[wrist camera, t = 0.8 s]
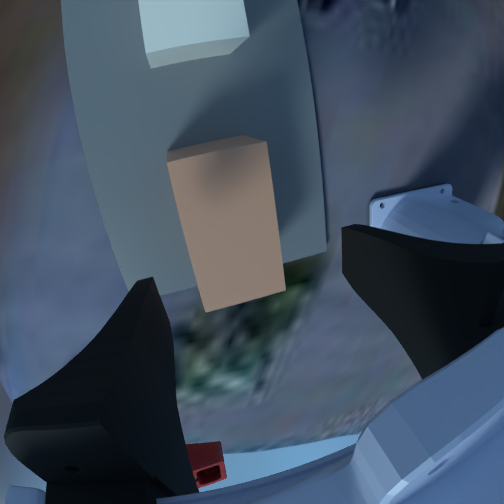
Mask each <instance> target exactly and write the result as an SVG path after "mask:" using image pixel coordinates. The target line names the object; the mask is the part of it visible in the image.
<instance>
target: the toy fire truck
mask: <svg viewBox="0 0 504 504" xmlns="http://www.w3.org/2000/svg"><path fill="white" fill-rule="evenodd" d="M186 448H187V452H188V456H189V460H190V463H191V467H192V471H193V474H194V477H195V480H196V484H197V487H198V488H200V487H203V486H207V485H210V484H213V483H215V482H218V481H220V480H223V479H226V477H227V475H226V470H225V465H224V458H223V453H222V447H221V442H220V441H217V442H209V443H207V442H206V443H199V444H198V443H196V444H186Z"/></svg>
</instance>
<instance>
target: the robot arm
mask: <svg viewBox="0 0 504 504" xmlns="http://www.w3.org/2000/svg"><path fill="white" fill-rule="evenodd" d="M381 203H382V205H381V207H380V204H381ZM369 209H370V226H366V225H359V224H353V225H350V226H346V227H342V228H341V229H342V273H343V275H344V276H345V278H346V279H347V281H348V282H349V284H350V285H351V287H352V288H353V289H354V291H355V292H356V293H357V294H358V295H359V296H360V297H361V298H362V300H363V301H364V302H365V303H366V304H367V305H368V306H369V307H370V308H371V309H372V310H373V311H374V312H375V313H376V315H377V316H378V317H379V318H380V319H381V320H382V321H383V322H384V323H385V324H386V325H387V326H388V328H389V329H390V330H391V331H392V332H393V334H394V335H395V336H396V338H397V339H398V341H399V342H400V344H401V345H402V346H403V348H404V349H405V351H406V352H407V354H408V356H409V357H410V359H411V360H412V362H413V364H414V365H415V367H416V369H417V370H418V372H419V374H420V376H421V378H422V380H421V381H419V382H418V383H416V384H414V385H413V386H411V387H410V388H409V389H407V390H406V391H404V392H403V393H401V394H400V395H398V396H397V397H395V398H394V399H392V400H391V401H390V402H389V403H388V404H387V405H386V406H384V407H383V408H382V409H381V410H380V411H379V412H378V413H377V414H376V415H375V416H374V417H373V418H372V419H371V420H370V421H369V422H368V423H367V425H366V427H365V428H364V430H363V432H362V433H361V435H360V437H359V438H358V441H357V443H355V444H354V445H351V446H349V447H346V448H344V449H342V450H339V451H337V452H335V453H332V454H330V455H327V456H325V457H323V458H320V459H317V460H314V461H312V462H309V463H306V464H304V465H301V466H298V467H295V468H292V469H290V470H286V471H283V472H280V473H277V474H274V475H270V476H267V477H263V478H260V479H256V480H253V481H249V482H245V483H241V484H237V485H233V486H229V487H224V488H220V489H215V490H210V491H205V492H199V490H198V487H197V484H196V480H195V477H194V474H193V471H192V467H191V463H190V460H189V456H188V452H187V448H186V444H185V440H184V436H183V432H182V427H181V422H180V417H179V412H178V407H177V400H176V388H175V369H174V346H173V339H172V333H171V327H170V321H169V319H168V316H167V313H166V311H165V308H164V305H163V303H162V300H161V297H160V295H159V292H158V289H157V286H156V283H155V280H154V278H153V277H149V278H145V279H141V280H138V281H136V283H135V284H134V285H133V287H132V288H131V289H130V291H129V292H128V294H127V295H126V297H125V298H124V300H123V301H122V303H121V304H120V305H119V307H118V308H117V310H116V311H115V313H114V314H113V315H112V316H111V318H110V319H109V320H108V322H107V323H106V324H105V326H104V327H103V328H102V329H101V331H100V332H99V333H98V334H97V335H96V336H95V338H94V339H93V340H92V341H91V342H90V343H89V344H88V345H87V346H86V347H85V348H84V349H83V350H82V351H81V352H80V353H79V354H78V355H76V356H75V357H74V358H73V359H72V360H71V361H70V362H69V363H68V364H67V365H65V366H64V367H63V368H62V369H60V370H59V371H58V372H57V373H55V374H54V375H53V376H51V377H50V378H49V379H47V380H46V381H44V382H43V383H41V384H40V385H38V386H37V387H35V388H34V389H32V390H30V391H29V392H27V393H25V394H24V395H22V396H20V397H19V398H17V399H15V400H14V401H13V405H12V408H11V412H10V415H9V419H8V423H7V426H6V431H5V435H4V439H5V444H6V446H7V447H8V449H9V450H10V452H11V453H12V454H13V455H14V456H15V457H16V458H17V459H18V460H19V461H20V462H21V463H22V464H24V465H25V466H26V467H27V468H29V469H30V470H31V471H32V472H34V473H35V474H36V475H38V476H39V477H40V478H42V479H43V480H44V481H46V482H47V486H46V492H44V491H43V490H40V489H36V488H30V487H20V486H13V485H9V486H7V493H6V502H5V504H504V221H503V220H502V219H500V218H499V217H498V216H496V215H494V214H492V213H490V212H488V211H486V210H483V209H481V208H479V207H477V206H475V205H473V204H470V203H468V202H466V201H464V200H461V199H459V198H457V197H454V196H452V186H451V185H450V184H442V185H438V186H433V187H428V188H423V189H418V190H414V191H409V192H404V193H400V194H395V195H390V196H386V197H381V198H377V199H373V200H372V201H371V203H370V206H369Z"/></svg>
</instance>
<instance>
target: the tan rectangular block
mask: <svg viewBox="0 0 504 504" xmlns="http://www.w3.org/2000/svg"><path fill="white" fill-rule="evenodd" d="M167 166H168V171H169V175H170V180H171V184H172V188H173V192H174V197H175V201H176V205H177V209H178V213H179V217H180V221H181V225H182V229H183V233H184V237H185V241H186V244H187V248H188V252H189V256H190V259H191V263H192V267H193V270H194V274H195V278H196V281H197V285H198V288H199V292H200V295H201V299H202V302H203V306H204V309H205V312H209V311H213V310H217V309H221V308H224V307H228V306H232V305H235V304H239V303H243V302H246V301H250V300H253V299H257V298H261V297H264V296H268V295H271V294H274V293H278V292H281V291H285V290H286V288H285V279H284V271H283V262H282V254H281V246H280V238H279V230H278V222H277V214H276V206H275V199H274V191H273V184H272V177H271V169H270V162H269V155H268V148H267V142H266V141H263V140H259V139H256V138H252V137H249V136H245V135H241V136H235V137H230V138H225V139H220V140H215V141H210V142H205V143H201V144H196V145H192V146H187V147H183V148H179V149H175V150H171V151H167Z"/></svg>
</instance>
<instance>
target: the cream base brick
mask: <svg viewBox="0 0 504 504" xmlns="http://www.w3.org/2000/svg"><path fill="white" fill-rule="evenodd" d="M138 3H139V10H140V18H141V25H142V32H143V39H144V46H145V52H146V56H147V59H148V62H149V65H150V68H151V69H152V68H156V67H160V66H165V65H169V64H174V63H179V62H184V61H190V60H195V59H201V58H207V57H214V56H221V55H228V54H231V53H232V52H233V51H234V50H235V49H236V48H237V47H238V46H240V45H241V44H242V43H243V42H244V41H245V40H246V39H248V38H249V37H250V35H249V29H248V24H247V18H246V13H245V7H244V2H243V0H138Z"/></svg>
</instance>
